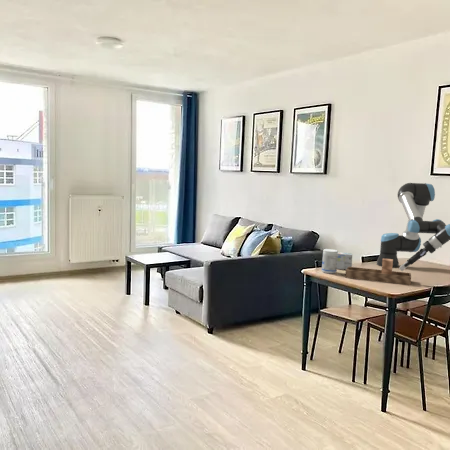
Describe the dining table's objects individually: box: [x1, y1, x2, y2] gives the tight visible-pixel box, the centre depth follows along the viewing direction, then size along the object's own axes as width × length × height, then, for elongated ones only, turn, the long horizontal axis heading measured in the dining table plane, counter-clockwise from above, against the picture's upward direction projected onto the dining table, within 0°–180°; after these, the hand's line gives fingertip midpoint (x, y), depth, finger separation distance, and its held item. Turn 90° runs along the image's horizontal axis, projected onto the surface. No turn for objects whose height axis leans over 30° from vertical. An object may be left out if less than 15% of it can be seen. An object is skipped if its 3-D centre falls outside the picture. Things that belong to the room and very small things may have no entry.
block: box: [381, 258, 393, 274], centre depth 295 cm, size 6×6×10 cm
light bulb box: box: [337, 252, 353, 271], centre depth 327 cm, size 11×7×11 cm, turn 84°
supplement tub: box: [321, 248, 339, 275], centre depth 312 cm, size 10×10×15 cm
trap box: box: [345, 266, 412, 286], centre depth 297 cm, size 38×12×5 cm, turn 70°
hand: (400, 269), depth 292 cm, fingers closed
